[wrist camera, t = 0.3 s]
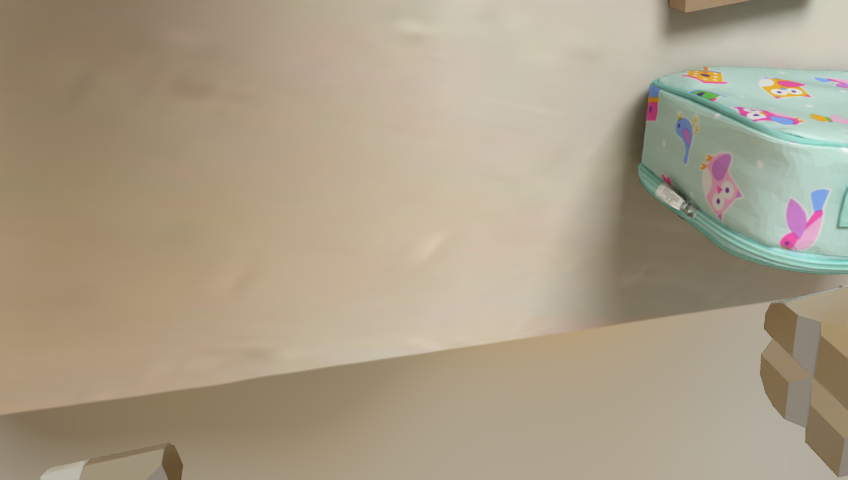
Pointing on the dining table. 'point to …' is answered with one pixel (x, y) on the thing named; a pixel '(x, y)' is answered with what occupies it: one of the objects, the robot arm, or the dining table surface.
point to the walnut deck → (699, 4)
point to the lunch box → (754, 161)
